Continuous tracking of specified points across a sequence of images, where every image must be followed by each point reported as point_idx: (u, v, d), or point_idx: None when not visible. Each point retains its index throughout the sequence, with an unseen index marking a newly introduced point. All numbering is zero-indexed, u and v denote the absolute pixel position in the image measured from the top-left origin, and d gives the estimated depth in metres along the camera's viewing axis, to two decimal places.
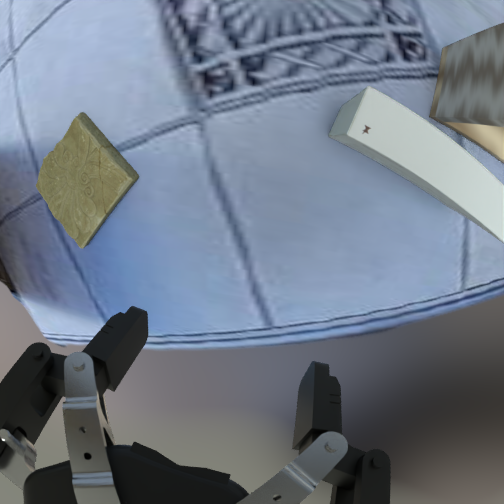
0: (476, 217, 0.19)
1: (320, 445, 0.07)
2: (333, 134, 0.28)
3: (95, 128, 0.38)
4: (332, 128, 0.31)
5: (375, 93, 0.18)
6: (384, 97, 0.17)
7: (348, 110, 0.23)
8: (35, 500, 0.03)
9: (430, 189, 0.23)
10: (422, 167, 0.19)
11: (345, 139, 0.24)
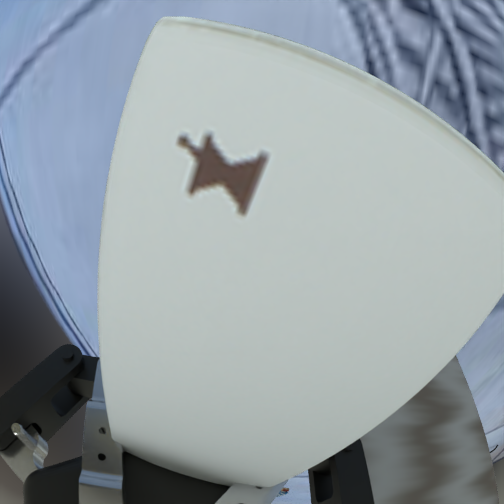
0: None
1: None
2: None
3: None
4: None
5: None
6: (474, 319, 0.02)
7: None
8: (34, 496, 0.03)
9: None
10: (139, 430, 0.05)
11: None
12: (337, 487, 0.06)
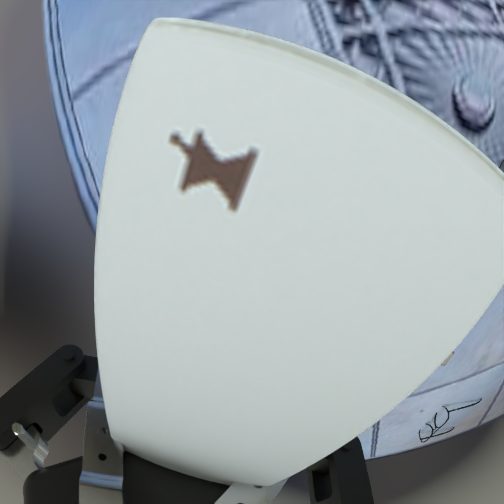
0: None
1: None
2: None
3: None
4: None
5: (502, 256, 0.02)
6: (470, 315, 0.02)
7: None
8: (33, 496, 0.03)
9: None
10: (137, 428, 0.05)
11: None
12: (336, 486, 0.06)
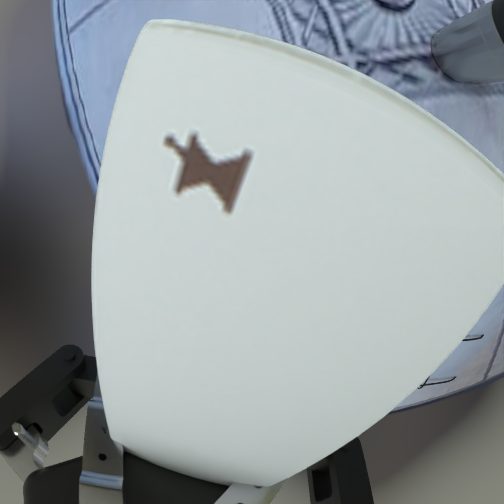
0: None
1: None
2: None
3: None
4: None
5: (501, 258, 0.02)
6: (469, 317, 0.02)
7: None
8: (34, 496, 0.03)
9: None
10: (136, 429, 0.05)
11: None
12: (336, 486, 0.06)
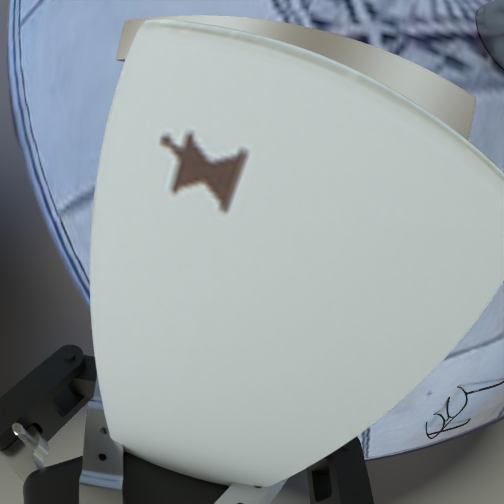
0: None
1: None
2: None
3: None
4: None
5: (500, 256, 0.02)
6: (468, 316, 0.02)
7: None
8: (34, 496, 0.03)
9: None
10: (135, 429, 0.05)
11: None
12: (336, 486, 0.06)
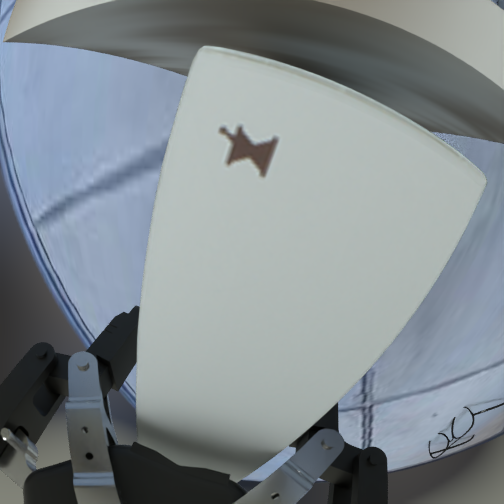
0: None
1: (316, 442, 0.08)
2: None
3: None
4: None
5: (458, 207, 0.03)
6: (440, 255, 0.04)
7: None
8: (35, 499, 0.03)
9: None
10: (166, 388, 0.06)
11: None
12: (355, 499, 0.06)
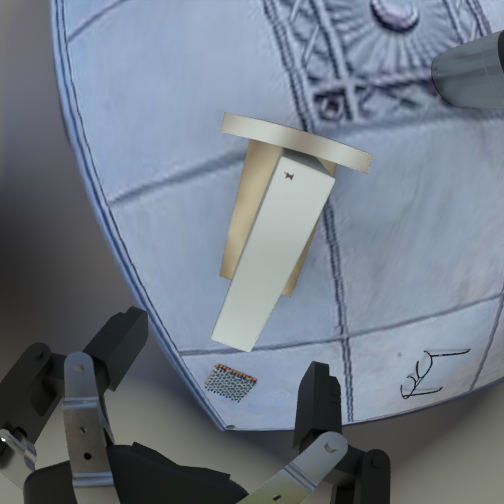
0: (226, 300, 0.28)
1: (320, 445, 0.07)
2: (284, 147, 0.30)
3: None
4: None
5: (327, 185, 0.21)
6: (325, 195, 0.22)
7: (309, 160, 0.25)
8: (35, 500, 0.03)
9: (243, 248, 0.30)
10: (260, 236, 0.24)
11: (279, 158, 0.26)
12: (357, 501, 0.06)
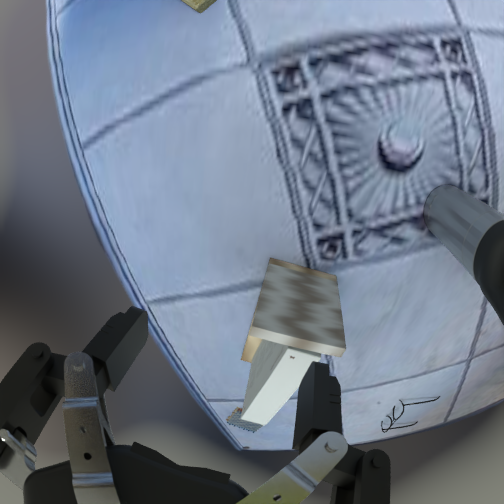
0: (251, 404, 0.40)
1: (320, 445, 0.07)
2: None
3: None
4: None
5: (315, 361, 0.34)
6: None
7: None
8: (35, 500, 0.03)
9: (261, 371, 0.42)
10: (273, 380, 0.36)
11: None
12: (357, 501, 0.06)
